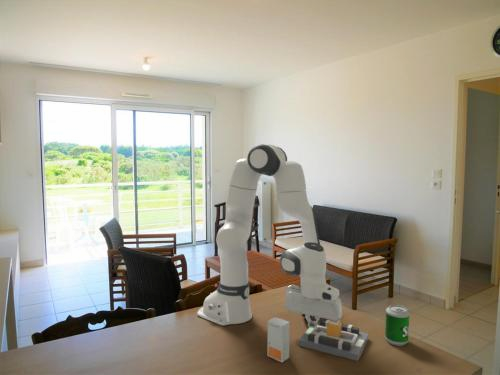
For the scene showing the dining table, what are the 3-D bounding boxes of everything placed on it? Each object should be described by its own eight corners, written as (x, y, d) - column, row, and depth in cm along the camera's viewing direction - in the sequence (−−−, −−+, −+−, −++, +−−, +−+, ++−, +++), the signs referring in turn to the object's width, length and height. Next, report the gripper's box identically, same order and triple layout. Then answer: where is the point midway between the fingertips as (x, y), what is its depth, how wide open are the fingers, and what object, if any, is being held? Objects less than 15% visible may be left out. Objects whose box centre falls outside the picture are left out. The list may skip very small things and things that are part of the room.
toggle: (326, 337, 126) (327, 321, 126) (330, 332, 130) (330, 317, 129) (338, 340, 124) (338, 324, 124) (341, 335, 128) (341, 319, 127)
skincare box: (266, 356, 118) (266, 320, 117) (274, 351, 121) (274, 316, 120) (282, 363, 114) (282, 326, 113) (289, 357, 117) (290, 321, 116)
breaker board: (298, 345, 125) (298, 336, 125) (313, 326, 139) (314, 318, 139) (358, 361, 115) (358, 351, 115) (368, 339, 129) (368, 330, 129)
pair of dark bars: (307, 341, 124) (307, 334, 124) (321, 323, 137) (321, 318, 137) (349, 351, 117) (349, 345, 117) (359, 332, 130) (359, 326, 130)
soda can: (397, 349, 123) (399, 314, 122) (380, 339, 129) (381, 306, 128) (413, 344, 126) (414, 310, 125) (395, 334, 133) (396, 302, 132)
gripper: (282, 286, 132) (282, 324, 133) (339, 297, 122) (338, 337, 123) (289, 281, 137) (289, 317, 138) (343, 291, 128) (343, 329, 129)
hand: (312, 326), depth 131 cm, fingers closed
